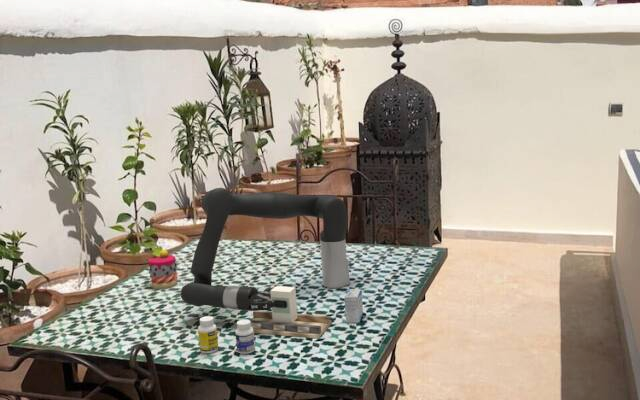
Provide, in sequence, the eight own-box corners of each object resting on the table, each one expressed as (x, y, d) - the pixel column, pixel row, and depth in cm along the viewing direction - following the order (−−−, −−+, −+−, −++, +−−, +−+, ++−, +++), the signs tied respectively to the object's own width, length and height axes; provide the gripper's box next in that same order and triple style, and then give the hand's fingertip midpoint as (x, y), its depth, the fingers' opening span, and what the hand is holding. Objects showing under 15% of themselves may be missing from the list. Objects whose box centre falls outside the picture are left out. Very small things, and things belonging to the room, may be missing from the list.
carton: (278, 316, 214) (276, 286, 212) (297, 317, 211) (295, 287, 210) (272, 321, 210) (270, 290, 208) (291, 323, 207) (289, 292, 205)
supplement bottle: (210, 355, 194) (207, 323, 192) (196, 352, 197) (192, 320, 195) (222, 348, 199) (219, 316, 197) (208, 345, 201) (205, 314, 200)
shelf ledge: (331, 323, 212) (331, 314, 212) (318, 338, 201) (317, 329, 201) (256, 317, 221) (256, 308, 221) (240, 331, 210) (239, 322, 210)
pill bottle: (237, 347, 198) (234, 319, 196) (255, 346, 199) (252, 317, 197) (236, 355, 193) (234, 326, 191) (255, 353, 193) (252, 324, 192)
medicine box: (359, 323, 211) (358, 296, 209) (345, 323, 212) (344, 296, 210) (363, 314, 219) (361, 288, 217) (349, 313, 219) (348, 288, 218)
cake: (183, 281, 264) (179, 244, 261) (167, 290, 255) (162, 252, 252) (162, 279, 268) (158, 243, 266) (145, 288, 259) (140, 250, 256)
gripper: (229, 294, 207) (280, 297, 201) (249, 279, 220) (297, 282, 214) (231, 317, 209) (281, 321, 203) (251, 301, 222) (299, 305, 216)
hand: (289, 301), depth 209 cm, fingers closed on carton, 4 cm apart
